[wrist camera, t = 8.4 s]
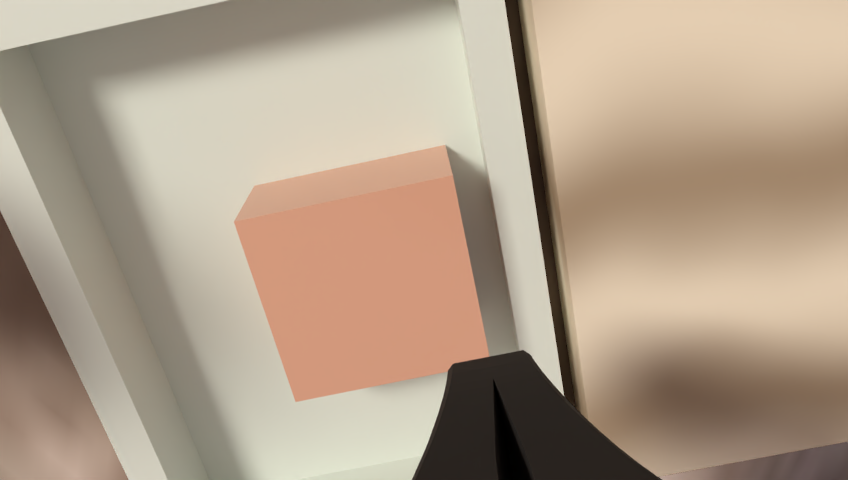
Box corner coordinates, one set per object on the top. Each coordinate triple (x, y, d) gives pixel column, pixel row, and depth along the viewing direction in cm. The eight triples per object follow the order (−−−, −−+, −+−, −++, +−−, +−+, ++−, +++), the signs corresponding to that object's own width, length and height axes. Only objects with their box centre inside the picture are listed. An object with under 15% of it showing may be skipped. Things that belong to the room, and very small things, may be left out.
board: (965, 370, 22) (1018, 409, 20) (580, 442, 22) (597, 487, 20) (1041, -234, 15) (1128, -258, 14) (500, -113, 16) (515, -119, 14)
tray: (565, 445, 22) (585, 504, 20) (198, 515, 23) (176, 579, 20) (479, -108, 16) (494, -116, 14) (-25, 6, 16) (-93, 16, 14)
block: (479, 314, 20) (490, 363, 17) (306, 349, 20) (295, 401, 18) (445, 144, 18) (453, 175, 16) (254, 185, 18) (233, 221, 16)
